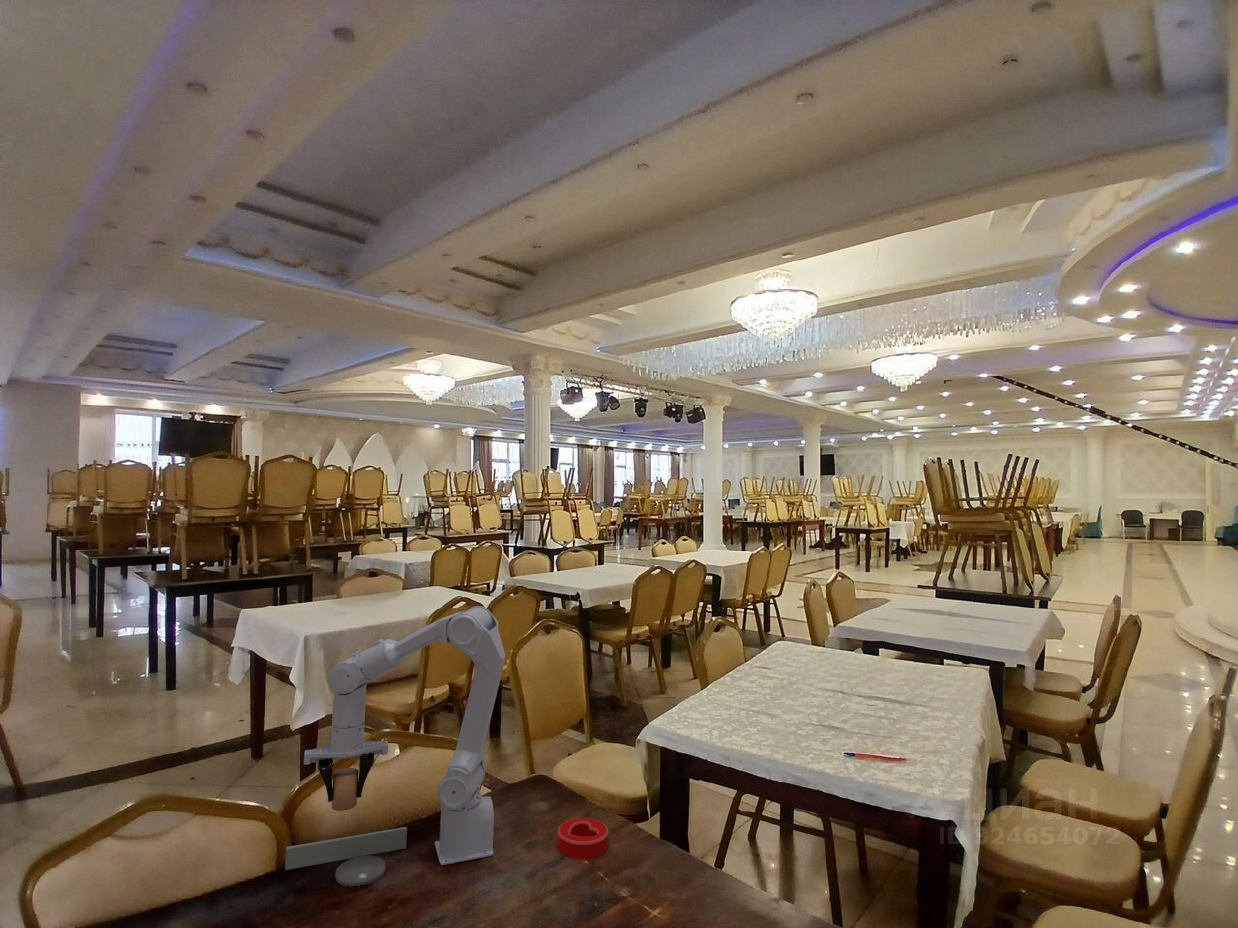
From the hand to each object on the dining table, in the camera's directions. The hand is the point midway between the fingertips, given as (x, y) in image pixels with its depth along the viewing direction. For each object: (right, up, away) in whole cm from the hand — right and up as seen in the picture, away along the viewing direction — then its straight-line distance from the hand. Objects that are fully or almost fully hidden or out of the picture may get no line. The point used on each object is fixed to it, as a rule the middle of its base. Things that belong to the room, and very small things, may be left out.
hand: (344, 797), depth 120 cm
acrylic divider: (+3, -8, -5) cm, 10 cm away
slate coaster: (+7, -8, -10) cm, 15 cm away
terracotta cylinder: (0, -1, 0) cm, 1 cm away
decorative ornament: (+45, -10, +1) cm, 46 cm away
